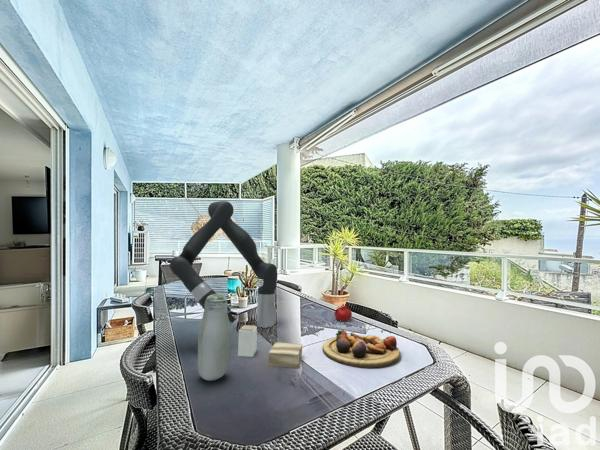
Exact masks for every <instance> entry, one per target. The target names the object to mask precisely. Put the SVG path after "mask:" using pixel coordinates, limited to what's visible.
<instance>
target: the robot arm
mask: <svg viewBox="0 0 600 450" xmlns="http://www.w3.org/2000/svg"><path fill="white" fill-rule="evenodd" d="M207 212H208V216H209V217H210V219H209V220H208V221H207V222H206V223H205V224H204V225H203V226H202V227H201V228H199V229H198V230H197V231H196V232H195V233H194V234H193V235H192V236H191V237H190V238H189V239H188V241H187V242H186V243H185V245H184V246H183V248H182V251H181V253H180V254H179V256H178V255H177V256H175V257H173V258H171V260H170V262H169V268H170V271H171V273H172V274H173V275H174V276H175V277H177V278H178V279H179V280H180V281H181V282H182V284H183V285H184V286H185V289H187V290H188V292H189V293H190V294H191V295H192V296H193V299H195V301H196V302H197V303H198V304H199V305H200V306H201V307H202V309H203V310H204V309H205V300H206V298H207V297H208V296H210V295H212V294H217V293H216V292H215V290H214V289H213V288H212V287H211V286H210V285H209V284H208V283H206V281H205V280H204V279H203V277H201V276H200V275H199V274H198V273H197V272H196V271H195V269H194V267H193V264H194V262H195V261H196V259H197V258H198V256H199V255H200V253H201V252H202V251H203V249H204V248H205V247H206V245H207V244H208V242H209V241H210V240H211V239H212V238H213V237H214V236H215V234H216V233H217V232H218V231H219V230H222V231H223V233H224V234H225V235H226V236H227V238H228V240H230V243H232V245H233V246H234V247H235V248H236V250H237V251H238V253H239V254H241V256H242V257H243V258H244V260H245V261H246V262H247V263H248V265H249V267H250V268H251V270H252V271H253V273H254V275H255V276H256V277H257V279H259V280H262V285H261V286H259V287H258V288H257V304H256V305H257V307H256V327H257V328H261V327H262V328H263V329H266V328H267V329H268V327H269V328H272V326H273V327H274V326H275V325H276V317H277V312H276V311H277V307H276V305H275V303H276V302H275V301H276V296H275V295H276V290H277V289H276V288H277V285H278V268H277V266H276V265H275V264H273V263H269V262H265V261H263V259H262V258H261V256H259V254H258V249H257V244H256V242H255V241H254V239H253V237H252V236H251V235H250V234H249V233H248V231H247V230H245V229H243V228H242V227H241V226H240V225H239V224H237V223H236V222H234V221H233V220H232V217H233V215H234V206H233V205H232V203H231V202H230V201H228V200H227V201H226V200H219V201H214V202H211V203H210V204H209V205H208V208H207ZM231 311H232V310H231V308H230V306H228V305H227V314H228V318H229V321H230V322H231V324H233V323H234V322H235V321H236V320H237V319H236V318H235V316H234V315H233V314H232V312H231ZM274 324H275V325H274Z"/></svg>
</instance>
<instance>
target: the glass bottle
mask: <svg viewBox="0 0 600 450" xmlns="http://www.w3.org/2000/svg"><path fill="white" fill-rule="evenodd" d="M227 306H228V299H227V297H226V295H224V294H222V293H216V294H212V295H210V296H208V297H207V298H206V300H205V309H204V308H203V314H202V318H201V321H200V323H199V327H198V336H197V337H198V338H197V371H198V374H199V376H200V377H201V379H202V380H205V381H208V382H209V381H210V382H211V381H216V380H218V379H221V378H222V377H223V376H224V375H225V374H226V372H227V370H228V368H229V364H230V351H231V350H230V348H231V347H230V346H231V336H232V335H231V327H230V323H229V318H228V314H227Z"/></svg>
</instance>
